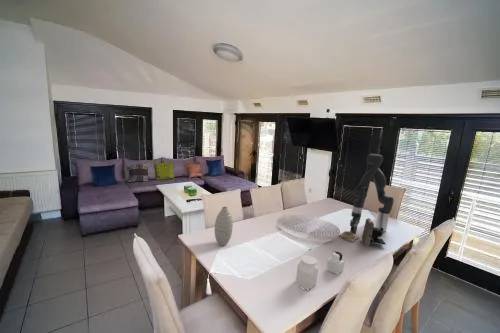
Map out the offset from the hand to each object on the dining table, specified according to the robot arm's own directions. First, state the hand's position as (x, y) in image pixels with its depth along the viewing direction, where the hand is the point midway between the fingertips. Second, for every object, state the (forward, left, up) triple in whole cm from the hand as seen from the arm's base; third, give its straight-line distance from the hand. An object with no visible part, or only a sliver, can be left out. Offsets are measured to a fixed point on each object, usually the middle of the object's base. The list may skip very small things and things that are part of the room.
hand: (353, 229), depth 204 cm
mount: (+13, +2, -3) cm, 14 cm away
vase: (+106, -48, -3) cm, 116 cm away
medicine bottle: (+65, +18, -3) cm, 68 cm away
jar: (+91, +14, -3) cm, 92 cm away
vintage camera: (+6, +19, -3) cm, 20 cm away
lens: (0, 0, -3) cm, 3 cm away
